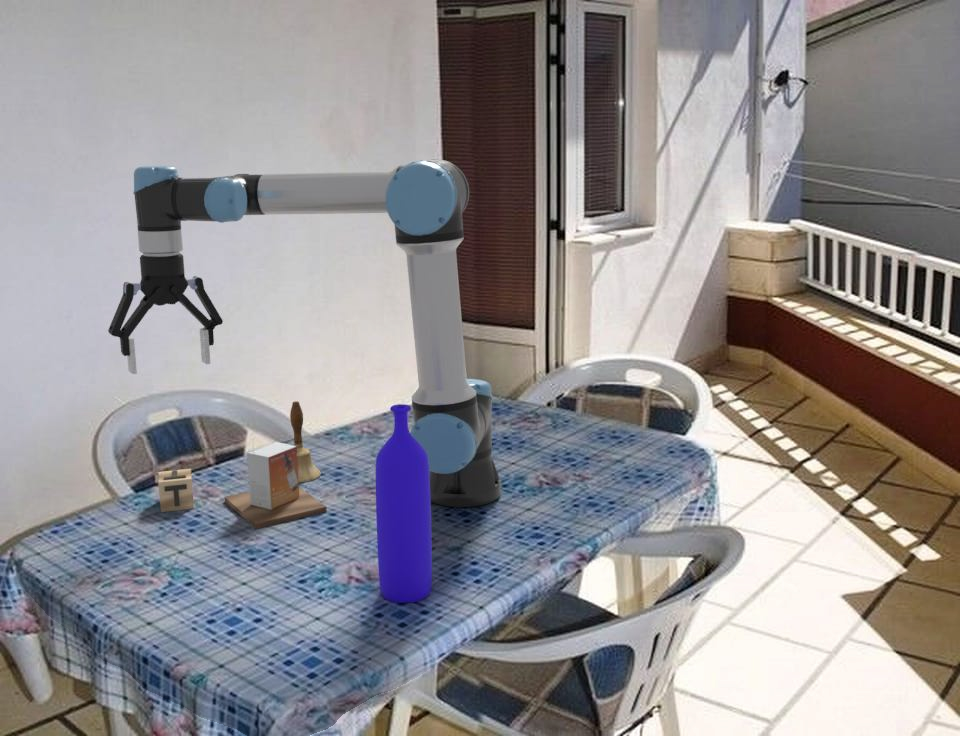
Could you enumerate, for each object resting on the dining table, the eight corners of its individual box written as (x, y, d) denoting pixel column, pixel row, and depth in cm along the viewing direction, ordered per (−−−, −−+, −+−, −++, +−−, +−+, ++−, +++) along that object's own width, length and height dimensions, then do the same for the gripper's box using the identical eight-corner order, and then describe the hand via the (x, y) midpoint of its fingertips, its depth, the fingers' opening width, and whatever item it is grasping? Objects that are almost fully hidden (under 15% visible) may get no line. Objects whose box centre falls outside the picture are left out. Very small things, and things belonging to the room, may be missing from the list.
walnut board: (326, 511, 182) (326, 506, 182) (255, 528, 174) (255, 523, 174) (292, 486, 195) (292, 482, 195) (224, 501, 187) (224, 496, 187)
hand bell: (272, 480, 199) (267, 405, 195) (294, 467, 206) (290, 395, 203) (307, 485, 196) (303, 409, 192) (328, 472, 203) (324, 398, 200)
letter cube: (194, 508, 184) (191, 478, 183) (161, 512, 182) (158, 481, 181) (193, 497, 190) (190, 467, 188) (161, 501, 188) (158, 470, 187)
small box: (271, 511, 180) (267, 457, 177) (249, 505, 183) (245, 452, 180) (300, 497, 186) (297, 445, 184) (279, 492, 189) (276, 440, 187)
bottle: (425, 607, 145) (420, 415, 138) (372, 602, 147) (364, 413, 140) (438, 582, 153) (434, 400, 146) (388, 578, 155) (382, 397, 148)
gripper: (221, 246, 184) (228, 355, 189) (84, 255, 171) (95, 372, 176) (235, 250, 178) (242, 362, 183) (94, 260, 165) (105, 381, 170)
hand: (170, 367), depth 180 cm, fingers open, 13 cm apart
